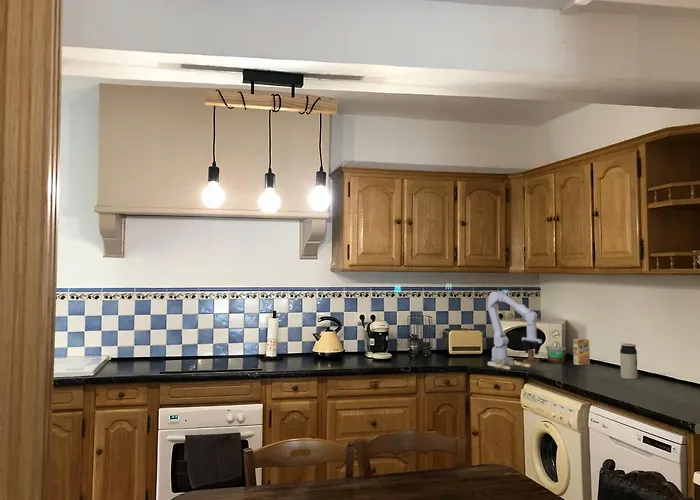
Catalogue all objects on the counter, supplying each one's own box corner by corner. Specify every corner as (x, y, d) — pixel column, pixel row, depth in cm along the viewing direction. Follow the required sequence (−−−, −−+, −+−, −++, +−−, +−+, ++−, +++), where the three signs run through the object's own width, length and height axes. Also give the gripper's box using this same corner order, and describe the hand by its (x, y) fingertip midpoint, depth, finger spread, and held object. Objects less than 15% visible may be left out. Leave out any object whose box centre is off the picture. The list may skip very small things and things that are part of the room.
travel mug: (617, 377, 300) (617, 344, 301) (625, 376, 305) (624, 342, 306) (632, 380, 294) (631, 345, 294) (640, 378, 299) (639, 344, 299)
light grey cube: (494, 365, 341) (494, 358, 342) (499, 364, 343) (499, 358, 343) (498, 366, 338) (498, 359, 338) (503, 365, 340) (503, 359, 340)
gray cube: (504, 364, 345) (504, 357, 345) (508, 363, 347) (508, 357, 347) (508, 365, 342) (508, 358, 342) (513, 364, 343) (513, 358, 344)
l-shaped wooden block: (522, 365, 342) (522, 350, 342) (536, 363, 348) (536, 348, 348) (525, 365, 340) (525, 350, 340) (539, 364, 345) (539, 349, 346)
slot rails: (495, 366, 336) (495, 364, 336) (517, 364, 344) (516, 361, 344) (509, 369, 326) (509, 367, 326) (530, 367, 334) (530, 364, 334)
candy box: (578, 365, 340) (577, 339, 340) (573, 364, 344) (572, 339, 344) (590, 364, 342) (589, 339, 343) (585, 363, 346) (584, 338, 347)
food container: (544, 362, 351) (544, 346, 351) (546, 360, 356) (545, 345, 357) (565, 363, 345) (565, 347, 346) (566, 362, 351) (566, 346, 351)
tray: (487, 365, 342) (487, 361, 342) (508, 362, 350) (508, 359, 350) (495, 366, 336) (495, 363, 336) (517, 364, 344) (516, 361, 344)
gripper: (518, 330, 349) (518, 352, 349) (535, 333, 337) (536, 355, 336) (526, 330, 353) (526, 351, 352) (544, 332, 340) (544, 354, 339)
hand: (531, 353), depth 344 cm, fingers open, 7 cm apart
